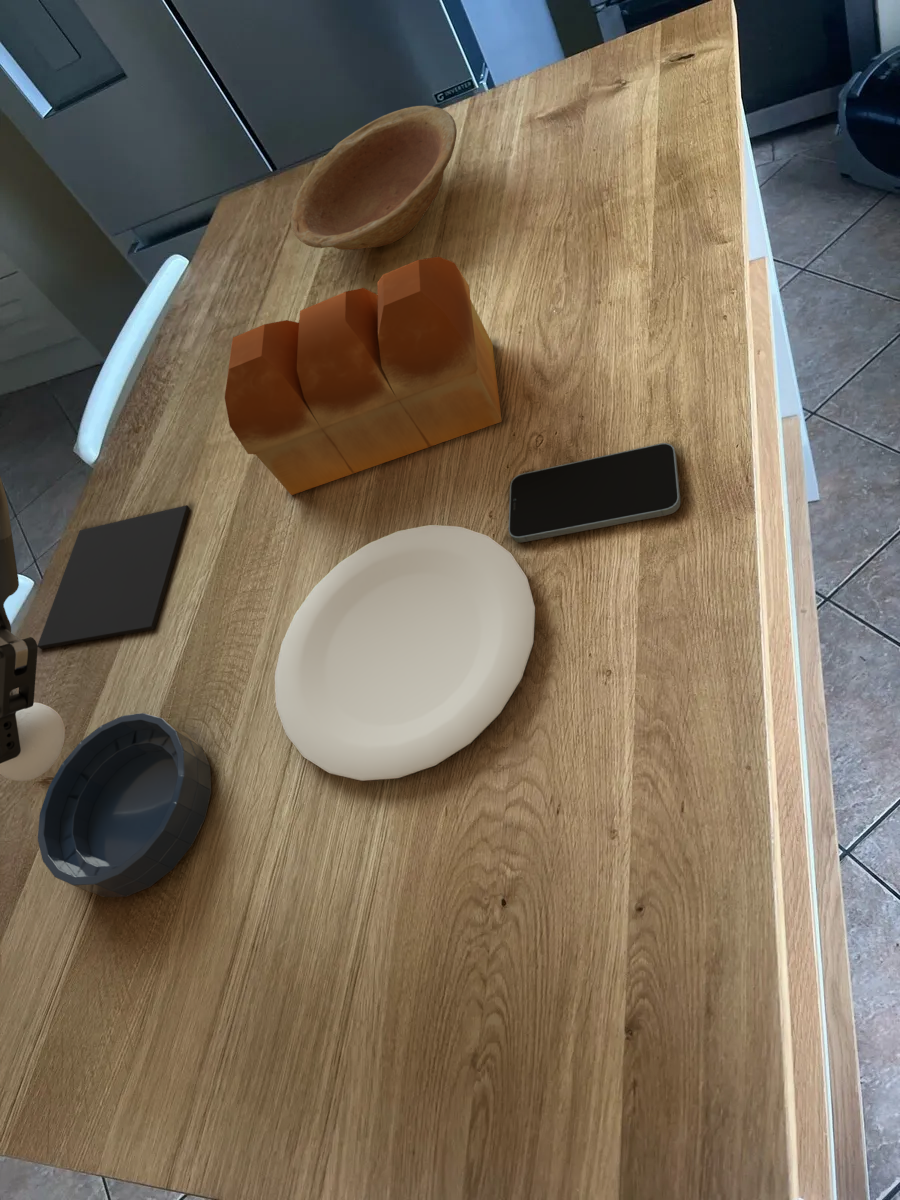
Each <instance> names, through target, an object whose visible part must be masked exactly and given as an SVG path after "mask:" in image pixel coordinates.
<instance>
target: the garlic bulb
mask: <svg viewBox="0 0 900 1200" xmlns="http://www.w3.org/2000/svg"><path fill="white" fill-rule="evenodd" d="M16 721H17V728H18V735H19V741H20V748H21V751H20V754H19V755H18V756H17V757H15V758H13V759H10V760H8V761H5V762H3V763H0V776H2V777H4V778H6V779H7V780H11V781H15V782H29V781H33V780H34V779H37V778H39V777H41V776H42V775H44V774H45V773H47V772H48V771H49V770H50V769H51V768H52V766H53V765H54V764H55V763H56V761H57V760H58V759H59V757H60V754H61V752H62V750H63V748H64V744H65V740H66V739H65V738H66V729H65V724H64V721H63V718H62V716H61V715H60V714H59V712H57V711H56V710H55V709H54V708H52V707H50V706H49V705H47V704H44V703H41V702H35V701H34V704H33V706H32V707H29V708H27V709H22V710H20V711H17V712H16Z"/></svg>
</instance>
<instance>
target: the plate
mask: <svg viewBox="0 0 900 1200" xmlns="http://www.w3.org/2000/svg"><path fill="white" fill-rule="evenodd" d="M536 610H537V609H536V606H535V601H534V597H533V593H532V590H531V587H530V581H529V579H528V577H527V575H526V574H525V572H524V571H523V569H522V568H521V566H520V565H519V563H518V561H517V560H516V559H515V557H514V556H513V554H512V553H511V552H510V551H509V550H508V549H506V548H505V547H504V546H502V545H501V544H500V543H498V542H497V541H496V540H494V539H493V538H492V537H490V536H489V535H486V534H484V533H481V532H478V531H475V530H472V529H469V528H466V527H463V526H460V525H459V526H458V525H457V526H456V525H440V524H439V525H437V524H428V525H423V526H417V527H412V528H411V527H410V528H407V529H401V530H397V531H395V532H393V533H390V534H388V535H385V536H383V537H380V538H377V539H375V540H373V541H371V542H369V543H367V544H365V545H363V546H362V547H360V548H359V549H358V550H356V551H355V552H353V553H352V554H350V555H349V556H347V557H345V558H344V559H342V560H341V561H339V563H337V564H336V565H335V566H334V567H333V568H332V569H331V570H330V571H328V573H327V574H326V575H325V576H323V578H321V580H320V581H318V583H316V584H315V585H314V587H313V588H312V590H311V591H310V592H309V593H308V595H307V597H306V598H305V599H304V600H303V602H302V603H301V605H300V606H299V607H298V609H297V611H295V613H294V616H293V618H292V620H291V622H290V624H289V626H288V628H287V630H286V633H285V635H284V637H283V639H282V642H281V644H280V648H279V653H278V657H277V663H276V667H275V672H274V690H275V691H274V694H275V707H276V711H277V714H278V716H279V719H280V722H281V725H282V728H283V731H284V734H285V736H286V737H287V738H288V739H289V741H290V742H291V743H292V744H293V746H294V747H295V748H296V749H297V750H298V752H299V753H300V754H301V756H302V758H305V760H307V761H309V762H311V763H312V764H314V765H316V766H317V767H319V768H320V769H322V770H323V771H325V772H327V773H329V774H330V775H333V776H338V777H342V778H347V779H351V780H356V781H360V782H372V781H373V782H374V781H389V780H399V779H403V778H405V777H408V776H411V775H414V774H418V773H420V772H423V771H425V770H429V769H431V768H435V767H437V766H439V765H440V764H442V763H444V762H446V761H447V760H448V759H450V758H451V757H453V756H454V755H456V754H457V753H459V752H461V751H462V750H464V749H466V748H468V747H469V746H470V745H472V744H473V743H474V742H475V741H476V740H477V739H478V738H479V737H480V736H481V735H482V734H483V732H485V731H486V730H487V729H488V728H489V727H490V726H491V725H492V724H493V723H494V722H495V721H496V720H497V719H498V717H499V716H501V714H502V713H503V711H504V709H505V708H506V706H507V705H508V703H509V702H510V700H511V698H512V697H513V695H514V693H515V692H516V690H517V689H518V687H519V685H520V684H521V682H522V681H523V678H524V675H525V672H526V669H527V666H528V663H529V661H530V656H531V654H532V651H533V648H534V645H535V632H536V631H535V629H536Z"/></svg>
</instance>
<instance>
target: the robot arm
mask: <svg viewBox="0 0 900 1200" xmlns="http://www.w3.org/2000/svg"><path fill="white" fill-rule="evenodd" d="M11 524H12V523H11V517H10V510H9V503H8V499H7V493H6V490H5V487H4V484H3V481H2V477H1V476H0V763H3V762H5V761H8V760H10V759H13V758H15V757H17V756H18V755H19V754H20V751H21V748H20V741H19V735H18V728H17V721H16V712H17V711H20V710H22V709H27V708H29V707H32V706H33V704H34V702H35V689H36V675H37V663H38V651H39V647H38V643H37V641H36V640H35V638H34V637H32V636H29V637H26V638H22V639H19V637H17V636H16V635H15V634H13V633H12V624H11V622H10V620H9V617H8V614H7V613H6V609H5V603H6V601H7V599H8V598H9V597H10V596H13V595H14V594H15V593H16V592H17V591H18V589H19V586H20V581H19V573H18V568H17V560H16V553H15V552H16V551H15V546H14V545H15V544H14V539H13V532H12V531H13V530H12V525H11Z"/></svg>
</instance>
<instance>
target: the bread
mask: <svg viewBox="0 0 900 1200" xmlns="http://www.w3.org/2000/svg"><path fill="white" fill-rule="evenodd" d="M376 286H377V293H376V292H373V291H371V290H369V289H367V288H365V287H361V288H356V289H350V290H348V291H344V292H342V293H339V294H337V295H335V296H332V297H330V298H326V299H324V300H323V301H320V302H318V303H315V304H313V305H311V306H308V307H306V308H303V309H301V310H299V320H298V322H297V321H293V320H289V319H288V320H287V319H285V320H280V321H275V322H269V323H265V324H261V325H259V326H256V327H254V328H252V329H250V330H247V331H245V332H243V333H241V334H238V335H235V336H233V337H232V341H231V347H230V353H229V362H228V368H227V369H228V370H227V376H226V378H227V379H226V384H225V392H224V402H225V408H226V413H227V418H228V424H229V427H230V428H231V430H232V431H233V433H234V435H235V436H236V438H237V439H238V441H239V443H240V444H241V446H242V447H243V448H244V450H245V452H246V453H247V455H255V456H256V457H257V458H258V459H259V460H260V462H261V463H262V464H263V465H264V466H265V467H266V468H267V469H268V471H269V472H270V473H271V474H272V475H273V476H274V478H276V480H277V481H278V482H279V483H280V484H281V485H282V486H283V488H284V489H285V490H286V491H287V492H288V494H290V495H291V496H293V495H296V494H300V493H302V492H305V491H307V490H311V489H313V488H317V487H319V486H322V485H325V484H328V483H330V482H333V481H336V480H339V479H342V478H345V477H348V476H350V475H353V474H357V473H359V472H362V471H365V470H368V469H370V468H373V467H376V466H379V465H382V464H384V463H385V464H386V463H388V462H391V461H393V460H397V459H399V458H402V457H405V456H407V455H410V454H413V453H416V452H419V451H422V450H425V449H428V448H431V447H434V446H436V445H439V444H442V443H444V442H448V441H450V440H454V439H456V438H459V437H462V436H466V435H467V434H470V433H473V432H476V431H479V430H482V429H485V428H488V427H491V426H493V425H496V424H499V423H502V421H503V419H502V411H501V404H500V403H501V402H500V395H499V387H498V379H497V369H496V362H495V355H494V346H493V342H492V339H491V337H490V336H489V333H488V331H487V330H486V328H485V326H484V324H483V322H482V320H481V317H480V316H479V314H478V312H477V309H476V307H475V305H474V303H473V301H472V300H471V292H470V284H469V283H468V281H467V280H466V278H465V277H464V275H463V274H462V272H461V271H460V268H459V267H458V266H457V264H456V262H455V261H451V260H449V259H446V258H444V257H441V256H434V257H433V256H432V257H427V258H421V259H416V260H414V261H412V262H410V263H407V264H405V265H402V266H400V267H397V268H395V269H393V270H391V271H389V272H386V273H384V274H382V275H381V277H380V278H379V279H378V281H377V285H376Z"/></svg>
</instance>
